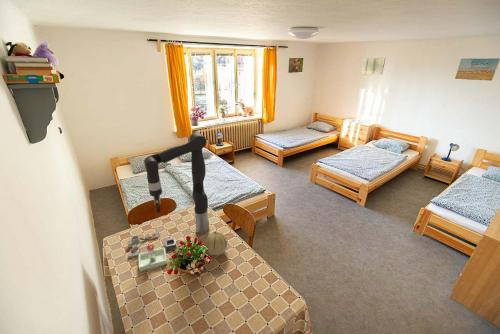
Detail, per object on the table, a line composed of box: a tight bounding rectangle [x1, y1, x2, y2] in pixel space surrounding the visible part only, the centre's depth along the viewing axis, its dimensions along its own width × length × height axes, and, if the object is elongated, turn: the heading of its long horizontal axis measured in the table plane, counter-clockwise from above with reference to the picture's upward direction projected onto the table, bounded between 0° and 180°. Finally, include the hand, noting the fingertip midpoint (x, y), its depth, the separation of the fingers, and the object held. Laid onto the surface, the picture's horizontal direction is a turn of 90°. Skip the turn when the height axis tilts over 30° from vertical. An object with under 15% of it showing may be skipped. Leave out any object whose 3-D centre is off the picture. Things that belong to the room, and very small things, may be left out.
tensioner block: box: [164, 237, 178, 251], centre depth 167 cm, size 7×7×3 cm
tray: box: [138, 246, 168, 272], centre depth 155 cm, size 16×12×3 cm
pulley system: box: [126, 231, 161, 259], centre depth 169 cm, size 27×5×15 cm
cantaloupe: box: [204, 231, 228, 256], centre depth 160 cm, size 15×15×15 cm
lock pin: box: [146, 244, 156, 262], centre depth 153 cm, size 4×4×11 cm
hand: (158, 208), depth 159 cm, fingers open, 8 cm apart
